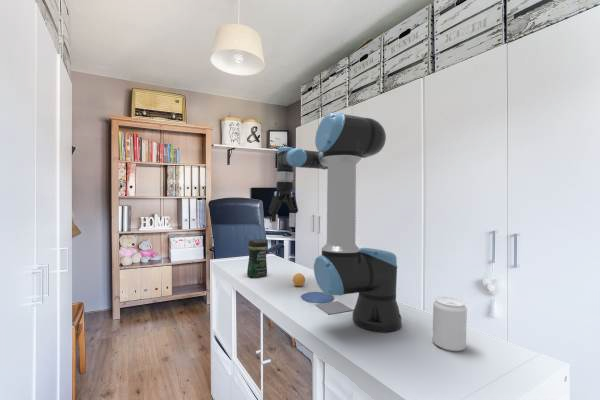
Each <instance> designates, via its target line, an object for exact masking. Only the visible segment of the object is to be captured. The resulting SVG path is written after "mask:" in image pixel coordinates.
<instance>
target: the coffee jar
mask: <svg viewBox="0 0 600 400" xmlns="http://www.w3.org/2000/svg"><path fill="white" fill-rule="evenodd" d="M247 247H248V251H249V253H248V264H247V269H246V274H247V275H246V276H248V277H249V278H254V279H255V278H262V277H267V275H268V267H267V266H268V264H267V252H268V248H269V245H268V240H267V239H264V238H254V239H249V241H248V245H247Z"/></svg>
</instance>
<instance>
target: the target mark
mask: <svg viewBox="0 0 600 400" xmlns="http://www.w3.org/2000/svg"><path fill="white" fill-rule="evenodd" d="M300 298H301V300H303V301H305V302H307V303H312V304H321V303H328V302H334V299H335V297H334V295H332V296H330V295H326V294H325V293H324V292H322V291H310V292H305V293H303V294H301V296H300Z"/></svg>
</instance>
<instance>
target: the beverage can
mask: <svg viewBox="0 0 600 400" xmlns="http://www.w3.org/2000/svg"><path fill="white" fill-rule="evenodd" d="M434 300H435V301H434V302H433V303H432V305H433V306H432V307H433V308H432V310H433V311H432V341H433V343H434V345H436V346H438V347H440V349H441V348H442V349H444V350H446V351H450V352H460V351H464V350H465V349H467V316H468V315H467V314H468V313H467V312H468V311H467V310H468V309H467V307H466V303H465V302H464V301H463V300H461V299H458V298H454V297H448V296H438V297H436V298H435V299H434Z"/></svg>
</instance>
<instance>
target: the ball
mask: <svg viewBox="0 0 600 400" xmlns="http://www.w3.org/2000/svg"><path fill="white" fill-rule="evenodd" d="M292 282H293V284H294V285H295V286H297V287H302V286H303V285H304V284H305V282H306V278H305V275H304V274H302V273H296V274H294V275H293V278H292Z"/></svg>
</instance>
